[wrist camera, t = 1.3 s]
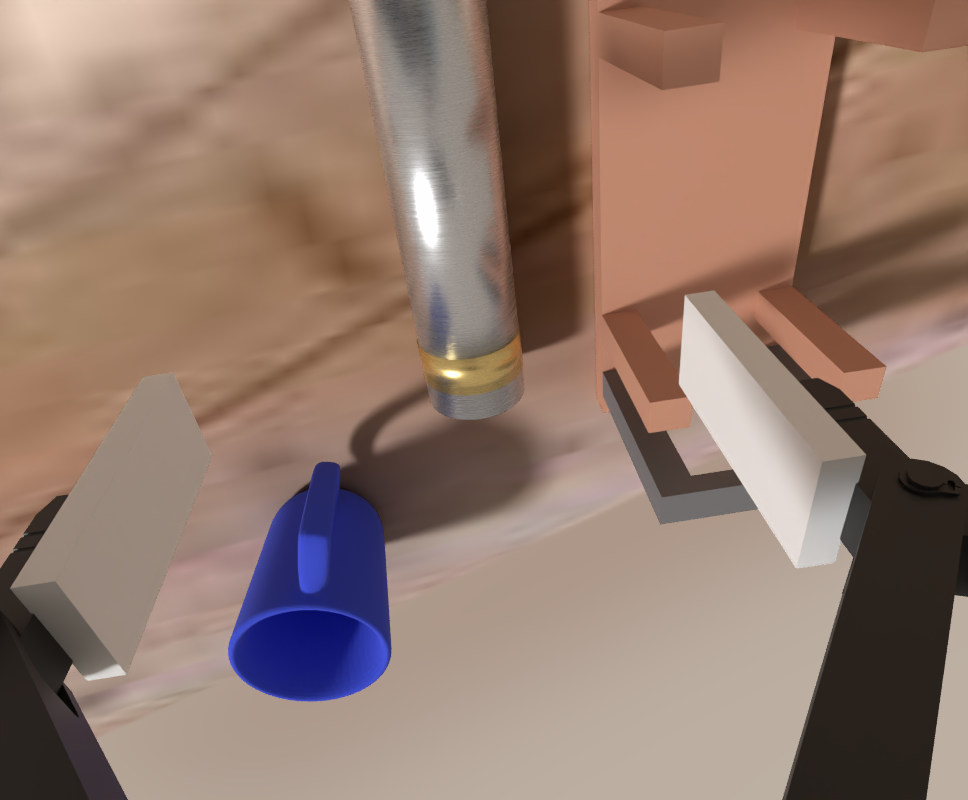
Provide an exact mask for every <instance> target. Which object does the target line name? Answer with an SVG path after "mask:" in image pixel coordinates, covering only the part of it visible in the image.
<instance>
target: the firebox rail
mask: <svg viewBox="0 0 968 800" xmlns="http://www.w3.org/2000/svg"><path fill="white" fill-rule="evenodd" d="M589 22H590V74H591V126H592V177H593V229H594V281H595V332H596V384H597V400H598V402H599V405H600V407H601V409H602V411H603V413H606V412H610V413H611V415H612V417H613V419H614V422H615V424H616V426H617V428H618V431H619V433H620V435H621V437H622V440H623V442H624V444H625V446H626V449H627V451H628V453H629V455H630V457H631V460H632V462H633V464H634V466H635V469H636V471H637V473H638V475H639V478H640V480H641V482H642V484H643V486H644V489H645V491H646V493H647V495H648V498H649V500H650V502H651V504H652V507H653V509H654V511H655V513H656V516H657V518H658V520H659V522H660V524H665V523H672V522H678V521H685V520H691V519H698V518H704V517H710V516H717V515H723V514H730V513H736V512H743V511H748V510H755V509H758V508H757V506H756V504H755V503H754V501H753V500H752V498H751V497H750V495H749V494H748V492H747V490H746V489H745V487H744V486H743V484H742V483H741V481H740V479H739V478H738V476H737V475H736V473H735V472H734V470H726V471H720V472H714V473H707V474H701V475H694V476H691V475H690V473H689V472H688V470H687V468H686V466H685V464H684V462H683V461H682V459H681V457H680V455H679V453H678V452H677V450H676V448H675V446H674V444H673V442H672V441H671V439H670V437H669V435H668V433H667V431H666V430H673V429H679V428H686V427H690V422H691V410H692V404H691V403H690V401H689V399H688V398H687V396H686V395H685V393H684V392H683V390H682V388H681V387H680V385H679V373H680V359H681V344H682V329H683V315H684V300H685V295H687V294H694V293H700V292H707V291H715V292H716V293H717V294H718V295H719V296H720V297H721V298H722V299H723V300H724V301H725V302H726V304H727V305H728V306H729V307H730V308H731V309H732V310H733V311H734V312H735V313H736V314H737V315H738V317H739V318H740V319H741V320H742V321H743V322H744V323H745V324H746V325H747V326H748V327H749V328H750V330H751V331H752V332H753V333H754V334H755V335H756V336H757V337H758V338H759V339H760V340H761V341H762V342H763V344H764V345H765V346H766V347H767V348H768V349H769V350H770V351H771V352H772V353H773V354H774V355H775V357H776V358H777V359H778V360H779V361H780V362H781V363H782V364H783V365H784V366H785V367H786V368H787V370H788V371H789V372H790V373H791V374H792V375H793V376H794V377H795V378H796V379H797V380H798V381H800V380H806V379H813V378H820V379H821V380H823V381H825V382H827V383H829V384H831V385H833V386H835V387H837V388H839V389H840V390H841V391H842V392H843V393H844V394H845V395H846V396H847V397H848V398H849V399H850V400H851V401H852V402H854V401H861V400H867V399H873V398H878V395H879V391H880V388H881V384H882V381H883V377H884V374H885V370H886V366H885V365H884V364H883V363H882V362H880V361H879V360H878V359H877V358H876V357H875V356H873V355H872V354H871V353H870V352H869V351H868V350H866V349H865V348H864V347H863V346H862V345H861V344H859V343H858V342H857V341H856V340H855V339H853V338H852V337H851V336H850V335H849V334H848V333H846V332H845V331H844V330H843V329H842V328H841V327H839V326H838V325H837V324H836V323H835V322H834V321H832V320H831V319H830V318H829V317H828V316H826V315H825V314H824V313H823V312H822V311H821V310H819V309H818V308H817V307H816V306H815V305H814V304H812V303H811V302H810V301H809V300H808V299H807V298H805V297H804V296H803V295H802V294H801V293H799V292H798V291H797V290H796V289H795V288H794V287H792V284H793V279H794V273H795V267H796V261H797V255H798V250H799V244H800V238H801V232H802V226H803V221H804V215H805V209H806V203H807V197H808V192H809V186H810V180H811V174H812V168H813V163H814V157H815V151H816V145H817V139H818V134H819V128H820V122H821V116H822V110H823V105H824V99H825V93H826V87H827V81H828V76H829V70H830V64H831V58H832V52H833V47H834V41H835V36H836V37H842V38H847V39H853V40H858V41H864V42H869V43H875V44H880V45H886V46H891V47H897V48H902V49H908V50H913V51H919V52H927V51H934V50H940V49H947V48H954V47H961V46H968V0H589Z"/></svg>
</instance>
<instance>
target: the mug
mask: <svg viewBox="0 0 968 800" xmlns="http://www.w3.org/2000/svg"><path fill="white" fill-rule="evenodd" d="M339 487H340V466H339V465H338V464H337V463H333V462H321V463H318V464H317V465H316V466H315V468H314V471H313V475H312V478H311V482H310V486H309V490H307V491H305V492H302V493H300V494H297V495H296V496H294V497H292V498H291V499H290V500H288V501H287V502H286V503H285V504H284V505H283V506H282V507H281V508H280V510H279V511H278V513H277V514H276V516H275V517H274V519H273V521H272V524H271V526H270V529H269V532H268V535H267V538H266V540H265V543H264V546H263V549H262V552H261V554H260V557H259V560H258V563H257V566H256V569H255V571H254V574H253V577H252V580H251V583H250V585H249V588H248V591H247V594H246V597H245V600H244V602H243V605H242V608H241V611H240V614H239V616H238V619H237V622H236V625H235V628H234V630H233V633H232V636H231V639H230V642H229V648H228V655H229V660H230V663H231V665H232V667H233V669H234V671H235V672H236V673H237V675H238V676H239V677H240V678H241V679H242V680H243V681H244V682H246V683H247V684H248V685H250V686H252V687H253V688H255V689H257V690H259V691H261V692H263V693H266V694H268V695H272V696H275V697H279V698H283V699H288V700H295V701H325V700H331V699H337V698H341V697H345V696H348V695H351V694H354V693H356V692H359V691H361V690H362V689H364V688H366V687H368V686H369V685H371V684H372V683H374V682H375V681H376V680H377V679H378V678H379V677H380V676H381V675H382V674H383V673H384V671H385V670H386V668H387V666H388V664H389V661H390V657H391V635H390V620H389V604H388V588H387V573H386V557H385V542H384V531H383V526H382V523H381V520H380V518H379V515H378V514H377V512H376V510H375V509H374V508H373V506H372V505H371V504H370V503H369V502H368V501H366V500H365V499H364V498H362V497H361V496H359V495H357V494H355V493H353V492H350V491H346V490H342V489H339Z"/></svg>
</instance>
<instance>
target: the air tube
mask: <svg viewBox="0 0 968 800" xmlns="http://www.w3.org/2000/svg"><path fill="white" fill-rule="evenodd" d="M349 2H350V7H351V12H352V17H353V22H354V27H355V32H356V37H357V42H358V47H359V51H360V56H361V61H362V66H363V71H364V76H365V81H366V86H367V91H368V96H369V101H370V106H371V111H372V116H373V121H374V126H375V130H376V135H377V140H378V145H379V150H380V155H381V160H382V165H383V170H384V175H385V180H386V185H387V190H388V195H389V200H390V205H391V209H392V214H393V219H394V224H395V229H396V234H397V239H398V244H399V249H400V254H401V259H402V264H403V269H404V274H405V279H406V284H407V288H408V293H409V298H410V303H411V308H412V313H413V318H414V323H415V328H416V333H417V343H418V348H419V353H420V358H421V363H422V368H423V372H424V377H425V380H426V382H427V387H428V392H429V397H430V402H431V404H432V406H433V407H434V409H435V410H437V411H438V412H439V413H441V414H443V415H445V416H447V417H450V418H455V419H462V420H476V419H483V418H488V417H492V416H495V415H498V414H501V413H503V412H505V411H507V410H508V409H510V408H511V407H513V406H514V405H515V404H516V403H517V402H518V401H519V400H520V399H521V397H522V395H523V393H524V378H523V368H522V367H523V358H522V348H521V338H520V328H519V324H518V318H517V308H516V297H515V287H514V277H513V267H512V257H511V247H510V237H509V227H508V216H507V206H506V196H505V186H504V176H503V166H502V156H501V146H500V135H499V125H498V115H497V105H496V95H495V85H494V75H493V65H492V54H491V44H490V34H489V24H488V14H487V4H486V0H349Z"/></svg>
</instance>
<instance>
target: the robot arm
mask: <svg viewBox="0 0 968 800" xmlns="http://www.w3.org/2000/svg"><path fill="white" fill-rule="evenodd" d="M679 385H680V387H681V388H682V390H683V392H684V393H685V395H686V396H687V398H688V399H689V401H690V403H691V404H692V406H693V407H694V409H695V410H696V412H697V414H698V415H699V417H700V418H701V420H702V421H703V423H704V424H705V426H706V428H707V429H708V431H709V432H710V434H711V435H712V437H713V439H714V440H715V442H716V443H717V445H718V446H719V448H720V450H721V451H722V453H723V454H724V456H725V457H726V459H727V460H728V462H729V464H730V465H731V467H732V468H733V470H734V472H735V473H736V475H737V476H738V478H739V479H740V481H741V483H742V484H743V486H744V487H745V489H746V490H747V492H748V494H749V495H750V497H751V498H752V500H753V501H754V503H755V504H756V506H757V508H758V509H759V511H760V512H761V514H762V515H763V517H764V519H765V520H766V522H767V523H768V525H769V526H770V528H771V530H772V531H773V533H774V534H775V536H776V537H777V539H778V541H779V542H780V544H781V545H782V547H783V548H784V550H785V551H786V553H787V555H788V556H789V558H790V559H791V561H792V562H793V564H794V566H795V567H796V569H798V568H804V567H810V566H816V565H823V564H829V563H835V560H836V557H837V554H838V550H839V547H840V544H841V541H842V543H843V544H844V545H845V547H846V548H847V549H848V551H849V552H850V553H851V555H852V556H853V561H852V564H851V567H850V570H849V574H848V577H847V580H846V583H845V586H844V589H843V592H842V598H841V601H840V604H839V608H838V611H837V615H836V618H835V622H834V625H833V629H832V632H831V635H830V639H829V642H828V645H827V649H826V652H825V656H824V659H823V663H822V666H821V669H820V673H819V676H818V680H817V683H816V686H815V690H814V694H813V697H812V700H811V704H810V707H809V711H808V714H807V717H806V721H805V724H804V728H803V731H802V735H801V738H800V741H799V745H798V748H797V751H796V755H795V759H794V762H793V765H792V769H791V772H790V776H789V779H788V782H787V786H786V789H785V792H784V796H783V799H782V800H926V796H927V789H928V782H929V775H930V768H931V761H932V753H933V746H934V739H935V732H936V724H937V717H938V710H939V703H940V695H941V689H942V681H943V674H944V667H945V660H946V653H947V645H948V638H949V630H950V624H951V617H952V609H953V602H954V595H958V596H967V597H968V485H967V484H964V482H963V481H962V480H961V479H960V478H959V477H958V476H957V475H956V474H954V473H953V472H951V471H950V470H948V469H946V468H945V467H943V466H940V465H937V464H934V463H931V462H929V461H924V460H917V459H910V458H909V457H908V456H907V455H906V454H905V453H904V452H903V451H902V450H901V449H900V448H899V447H898V446H897V445H895V443H894V442H893V441H892V440H891V439H890V438H889V437H887V435H885V433H883V431H882V430H881V429H880V428H879V427H878V426H877V425H875V423H874V422H872V420H871V419H867V416H866V415H865V414H864V412H862V411H861V409H860V408H858V407H855V404H854V403H853V402H852V401H851V400H850V399H849V398H848V397H847V396H846V395H845V394H844V393H843V392H842V391H841V390H840V389H839V388H837V387H835V386H833V385H831V384H829V383H827V382H825V381H823V380H821V379H820V378H813V379H806V380H800V381H798V380H797V379H796V378H795V377H794V376H793V375H792V374H791V373H790V372H789V371H788V370H787V368H786V367H785V366H784V365H783V364H782V363H781V362H780V361H779V360H778V359H777V358H776V357H775V355H774V354H773V353H772V352H771V351H770V350H769V349H768V348H767V347H766V346H765V345H764V344H763V342H762V341H761V340H760V339H759V338H758V337H757V336H756V335H755V334H754V333H753V332H752V331H751V330H750V328H749V327H748V326H747V325H746V324H745V323H744V322H743V321H742V320H741V319H740V318H739V317H738V315H737V314H736V313H735V312H734V311H733V310H732V309H731V308H730V307H729V306H728V305H727V304H726V302H725V301H724V300H723V299H722V298H721V297H720V296H719V295H718V294H717V293H716V292H715V291H707V292H700V293H694V294H687V295H685V300H684V315H683V329H682V344H681V359H680V373H679ZM211 458H212V454H211V452H210V450H209V448H208V445H207V443H206V441H205V439H204V437H203V435H202V433H201V430H200V428H199V426H198V424H197V422H196V420H195V418H194V416H193V413H192V411H191V409H190V407H189V405H188V403H187V401H186V398H185V396H184V394H183V392H182V390H181V388H180V386H179V384H178V381H177V379H176V377H175V375H174V373H167V374H160V375H153V376H147V377H143V378H142V380H141V381H140V383H139V384H138V386H137V388H136V389H135V391H134V392H133V394H132V395H131V397H130V399H129V400H128V402H127V403H126V405H125V407H124V408H123V410H122V411H121V413H120V415H119V416H118V418H117V419H116V421H115V422H114V424H113V426H112V427H111V429H110V430H109V432H108V434H107V435H106V437H105V438H104V440H103V441H102V443H101V445H100V446H99V448H98V449H97V451H96V453H95V454H94V456H93V457H92V459H91V461H90V462H89V464H88V465H87V467H86V468H85V470H84V472H83V473H82V475H81V476H80V478H79V480H78V481H77V483H76V484H75V486H74V488H73V489H72V491H71V492H70V494H69V495H63V496H57V497H56V498H55V499H53V500H52V501H51V502H50V503H49V504H48V505H47V506H46V507H44V508H43V509H42V510H41V511H40V512H39V513H38V514H36V516H35V517H34V519H33V520H32V522H31V523H30V525H29V526H28V528H27V529H26V531H25V532H24V537H22V538H20V540H19V541H18V543H17V544H16V546H15V547H14V549H13V551H14V552H13V553H10V555H9V556H8V558H7V559H6V561H5V562H4V564H3V565H2V567H1V568H0V800H128V799H127V797H126V795H125V794H124V791H123V790H122V788H121V786H120V784H119V782H118V780H117V778H116V776H115V774H114V772H113V770H112V769H111V766H110V765H109V763H108V761H107V759H106V757H105V755H104V753H103V751H102V749H101V748H100V745H99V743H98V742H97V740H96V738H95V736H94V734H93V732H92V730H91V728H90V726H89V724H88V722H87V720H86V718H85V717H84V715H83V713H82V711H81V709H80V707H79V705H78V703H77V701H76V699H75V697H74V695H73V694H72V692H71V690H70V689H69V688H68V687H67V686H66V685H65V684H64V679H65V677H66V675H67V673H68V671H69V669H70V667H71V665H72V663H73V665H74V666H75V667H76V668H77V669H78V671H79V672H80V673H81V674H82V675H83V677H84V678H85V679H86V680H87V681H90V680H96V679H102V678H109V677H115V676H121V675H127V673H128V670H129V668H130V665H131V662H132V660H133V657H134V655H135V652H136V650H137V647H138V645H139V642H140V639H141V637H142V634H143V632H144V629H145V627H146V624H147V622H148V619H149V616H150V614H151V611H152V609H153V606H154V604H155V601H156V599H157V596H158V593H159V591H160V588H161V586H162V583H163V581H164V578H165V576H166V573H167V570H168V568H169V565H170V563H171V560H172V558H173V555H174V553H175V550H176V547H177V545H178V542H179V540H180V537H181V535H182V532H183V530H184V527H185V524H186V522H187V519H188V517H189V514H190V512H191V509H192V507H193V504H194V501H195V499H196V496H197V494H198V491H199V489H200V486H201V484H202V481H203V478H204V476H205V473H206V471H207V468H208V466H209V463H210V461H211Z"/></svg>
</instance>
